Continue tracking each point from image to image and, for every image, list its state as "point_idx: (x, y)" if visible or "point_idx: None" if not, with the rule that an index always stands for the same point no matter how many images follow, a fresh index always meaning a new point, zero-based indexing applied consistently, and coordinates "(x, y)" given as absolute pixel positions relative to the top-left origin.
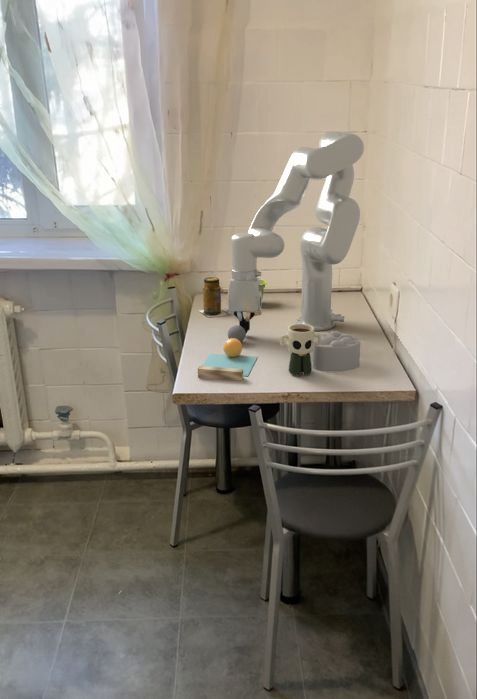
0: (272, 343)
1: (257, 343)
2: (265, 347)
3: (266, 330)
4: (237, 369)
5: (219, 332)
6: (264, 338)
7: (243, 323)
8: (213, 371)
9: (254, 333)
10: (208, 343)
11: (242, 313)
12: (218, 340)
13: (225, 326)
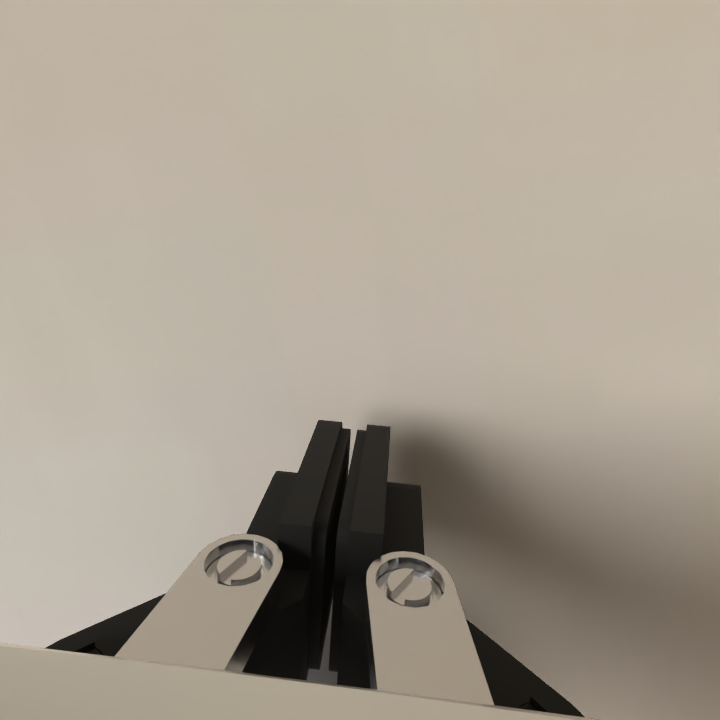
0: (690, 623)
1: (520, 627)
2: (605, 714)
3: (645, 189)
4: None
5: (27, 337)
6: (603, 491)
7: (324, 639)
8: None
9: (469, 332)
10: (40, 639)
11: (238, 663)
12: (104, 568)
13: (16, 81)
